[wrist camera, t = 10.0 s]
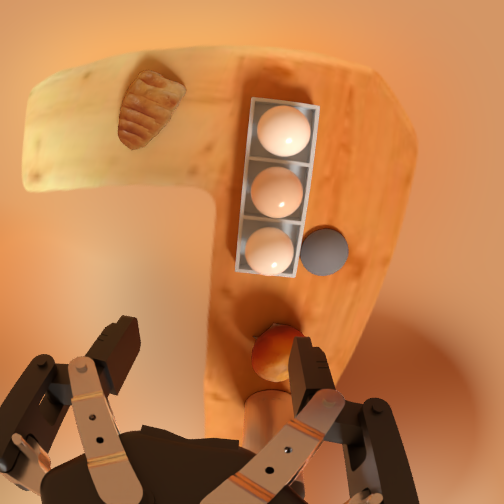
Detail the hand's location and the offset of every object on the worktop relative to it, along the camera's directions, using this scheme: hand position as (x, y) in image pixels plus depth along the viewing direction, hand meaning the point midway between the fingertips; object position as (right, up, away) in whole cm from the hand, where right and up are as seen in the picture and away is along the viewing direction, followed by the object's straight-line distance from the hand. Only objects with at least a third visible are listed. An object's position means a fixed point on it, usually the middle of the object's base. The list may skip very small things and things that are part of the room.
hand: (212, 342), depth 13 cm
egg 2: (+4, +5, +16) cm, 17 cm away
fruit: (+6, -8, +25) cm, 27 cm away
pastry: (-9, +21, +14) cm, 27 cm away
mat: (+11, +4, +20) cm, 23 cm away
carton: (+4, +12, +17) cm, 21 cm away
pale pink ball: (+4, +10, +14) cm, 18 cm away
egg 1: (+5, +16, +12) cm, 21 cm away
